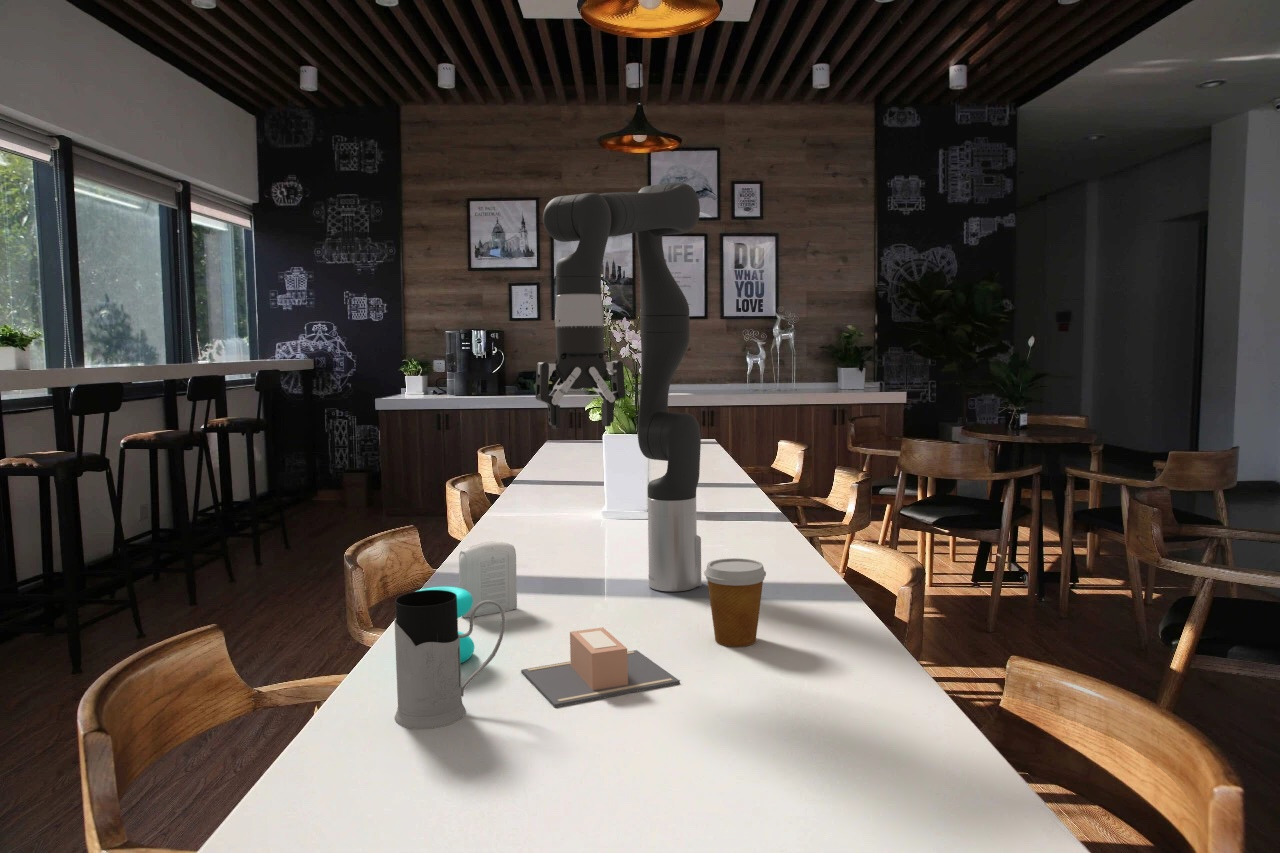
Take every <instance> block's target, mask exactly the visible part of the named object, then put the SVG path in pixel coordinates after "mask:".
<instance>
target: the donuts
mask: <svg viewBox="0 0 1280 853" xmlns="http://www.w3.org/2000/svg"><path fill="white" fill-rule="evenodd" d="M424 590H443V591H450V592H453V593H455V594H456V595H457V618H458V619H459V618H461V617H463V615H465V614H466V613H467V612H468V611H469V610H470V609H471V607H472V604H473V598H472V596H471V594H470V593H469V592H468V591H466V590H464V589H462V588H460V587H457V586H433V587H427V588H421V589H418V590H416V591H424ZM416 591H414V592H416ZM458 634H459V635H460V634H465V633H464V632H462V631H459V630H458ZM474 652H475V642H474V641H473V639H472V638H471V637H470V635H469V636H467V637H464V638H460V664H462V663H464V662H466V661H467V660H469V659H470V658H471V657H472V656H473V654H474Z"/></svg>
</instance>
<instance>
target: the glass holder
mask: <svg viewBox="0 0 1280 853" xmlns="http://www.w3.org/2000/svg"><path fill="white" fill-rule="evenodd" d="M394 602H395V603H394V607H395V618H394V620H393V621H394V641H395V642H394V644H395V664H396V665H395V667H396V668H395V669H396V689H397V690H396V691H397V692H396V693H397V696H396V697H397V708H396V713H395V715H394V722H395V723H396V724H397V725H398V726H401V727H402V728H403V727H404V728H406V729H412V730H413V729H415V730H429V729H436V728H438V729H439V728H442V727H447V726H449V725H452V724H454V723H456V722H458V721H460V720H461V719H462V718H463V717H464V716H465V715H466V714H467V713H466V712H467V710H466V707H465V705H464V703H463V697H464V696H465V693H464V692H465V689H466V688H467V686H469V684H470V683H471V681H473V680H474V679H475V678H476V677H477V675H479V674H480V673H481V672H482V671H483V670H484V669H485V668H486V666H488V664H489V663H490V662H491V661H492V660H493V659H494V657H495V656H496V654H497V653H498V651H499V648H500V646H501V643H502V641H503V638H504V633H505V628H506V627H505V626H506V624H505V623H506V621H505V620H506V617H505V611H504V610H503V609H502V607H501V605H500V604H498V603H497V602H495V601H491V600H484V601H482V602H479V603H478V604H477V605H476V606H475V607H474V608H473V610H472V612H471V615H470V617H469V629H468V631H467V632H465V633H464V634H460V635H459V634H458V631H459V626H458V625H459V624H458V623H459V622H458V620H459V618H457V595H456V594H455V593H453V592H450V591H443V590H424V591H418V590H416V592H415V591H412V592H408V593H404V594H401V595H399V596H397V597H396V598H395V600H394ZM486 603H491V604H495V605H496V606H498V607H499V609H500V611H501V612H500V615H501V622H500V624H501V625H500V632H499V637H498V639H497V642H496V644H495V646H494V647H493V650H492V652H491V654H489V656H488V657H487V658H486V659H485V661H484V662H483V663H482V664H481V665H480V666H479V667H478V668H477V669H476V670H475V671H474V672H473V673H472V674H471V675H469V677H468V678H467V679H466V680H465V681H464V683H463V684H462V674H461V673H462V670H461V668H462V667H461V663H460V638H464V637H467V636H469V637H470V635H471V634H472V632H473V630H474V617H475V616H474V615H475V612H476V611H477V609H478V608H479V607H480V606H481V605H483V604H486Z"/></svg>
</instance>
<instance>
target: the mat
mask: <svg viewBox="0 0 1280 853" xmlns="http://www.w3.org/2000/svg"><path fill="white" fill-rule="evenodd" d="M627 662H628V685H623V686H616V687H610V688H604V689H597V690H592V689H591V688H590V687H589V686H588V685H587V684H586V682H585V681H584V680H583V679H582V678H581V677H580V676H579V675H578V674H577V672H576V671H575V670H574V669H573V668H572V667H571V660H569V661H565V662H560V663H559V662H558V663H553V664H547V665H541V666H540V665H539V666H535V667H529V668H524V669H521V670H520V672H521V674H522V675H523V676H524V677H525V678H526V679H527V681H529V682H530V684H531V685H533V686H534V687H535V689H536V690H537V691H538V692H539V693H540V694H541V695H542V696H543V697H544V698H545V699H546V700H547V701H548V703H550V704H551V705H552V706H553V708H558V707H564V706H568V705H569V706H571V705H575V704H579V703H585V702H590V701H595V700H600V699H601V700H602V699H605V698H611V697H614V696H621V695H626V694H632V693H638V692H641V691H648V690H653V689H658V687H659V688H664V687H667V686H674V685H678V684H680V682H681V680H680V679H678V678H677V677H675V676H674V675H672V674H671V673H670V672H668V671H667V670H665V669H664V668H663V667H661V666H660V665H658V664H657V663H655V662H654V661H653V660H652V659H650V658H649V657H647V656H646V655H645V654H643V653H642V652H640V651H639V650H637V649H635V650H627ZM637 691H638V692H637Z"/></svg>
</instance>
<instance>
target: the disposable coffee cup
mask: <svg viewBox="0 0 1280 853" xmlns="http://www.w3.org/2000/svg"><path fill="white" fill-rule="evenodd" d="M703 574H704V576H705V579H706V581H707V588H708V593H709V601H710V602H709V603H710V610H711V615H712V625H713V632H714V633H713V634H714V641H715V643H717V644H719V645H720V646H721V645H722V646H726V647H731V648H732V647H733V648H739V647H740V648H741V647H748V646H751V645H753V644H755V643H756V641H757V634H758V625H759V624H758V623H759V619H760V618H759V616H760V608H761V600H762V592H763V584H764V581H765V577H766V576H767V571H766V570H765V568H764V564H763V563H762V562H760V561H757V560H754V559H751V558H738V557H737V558H735V557H734V558H731V557H730V558H719V559H714V560H711V561H709V562H708V563H707V565H706V568H705V570H704V571H703Z"/></svg>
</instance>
